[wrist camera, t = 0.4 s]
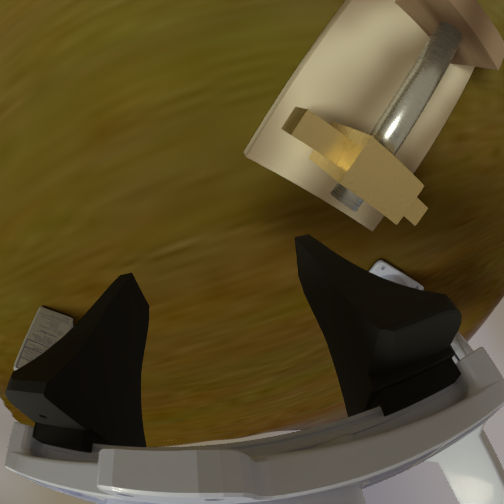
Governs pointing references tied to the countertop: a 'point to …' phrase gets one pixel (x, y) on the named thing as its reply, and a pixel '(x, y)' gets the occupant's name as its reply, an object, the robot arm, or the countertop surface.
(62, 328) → the medicine box
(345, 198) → the threaded rod
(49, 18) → the countertop surface
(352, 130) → the wing nut
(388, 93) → the beige blocky piece
